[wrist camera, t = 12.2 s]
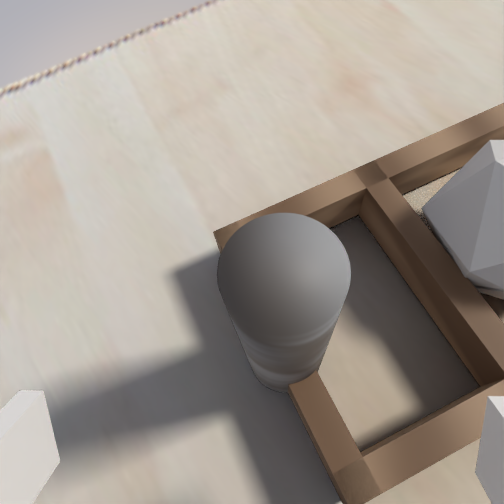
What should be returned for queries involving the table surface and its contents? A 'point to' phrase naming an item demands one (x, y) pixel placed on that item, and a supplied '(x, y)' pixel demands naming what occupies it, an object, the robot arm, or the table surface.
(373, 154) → the table surface
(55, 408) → the table surface
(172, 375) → the table surface
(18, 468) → the robot arm
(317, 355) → the frame
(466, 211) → the die
